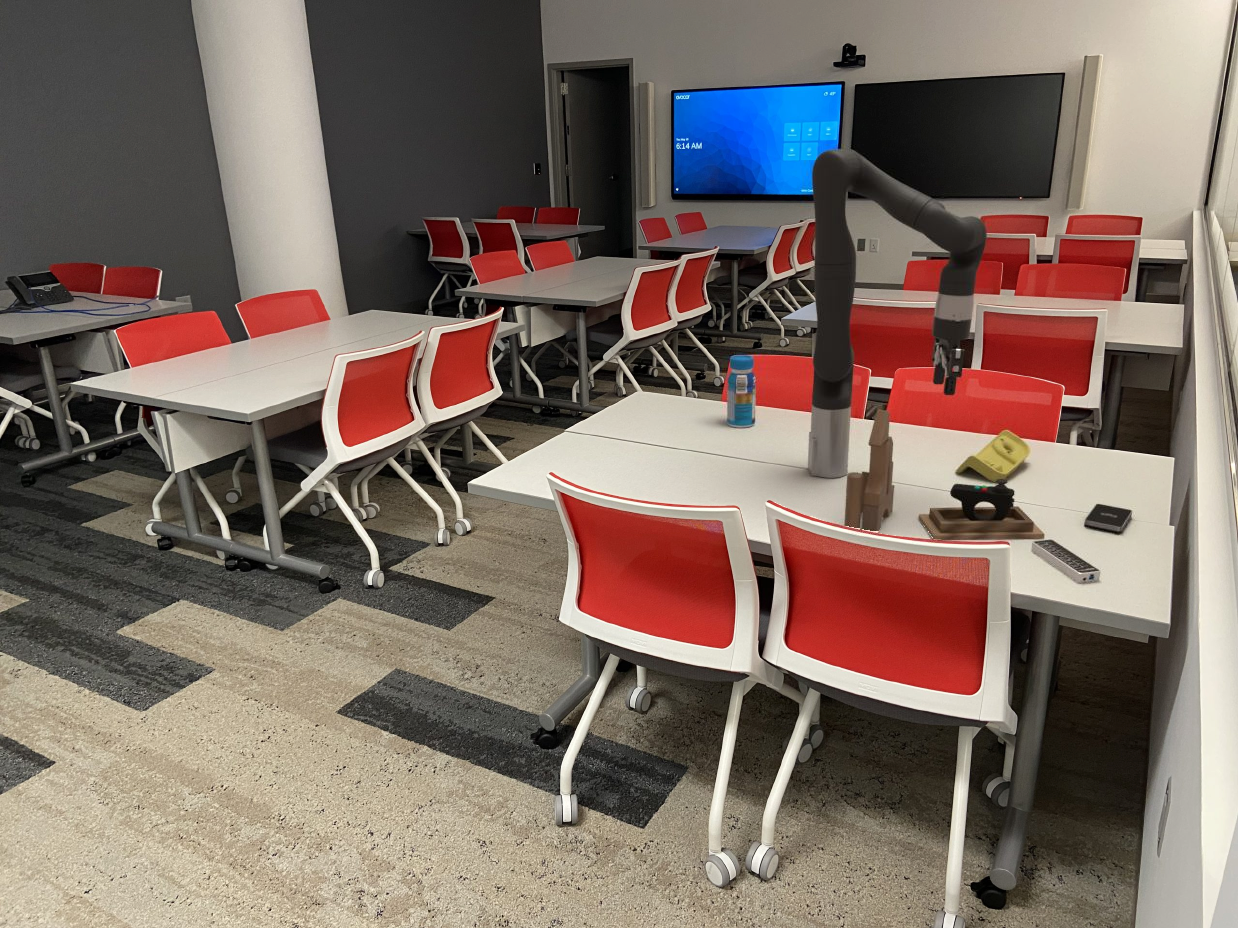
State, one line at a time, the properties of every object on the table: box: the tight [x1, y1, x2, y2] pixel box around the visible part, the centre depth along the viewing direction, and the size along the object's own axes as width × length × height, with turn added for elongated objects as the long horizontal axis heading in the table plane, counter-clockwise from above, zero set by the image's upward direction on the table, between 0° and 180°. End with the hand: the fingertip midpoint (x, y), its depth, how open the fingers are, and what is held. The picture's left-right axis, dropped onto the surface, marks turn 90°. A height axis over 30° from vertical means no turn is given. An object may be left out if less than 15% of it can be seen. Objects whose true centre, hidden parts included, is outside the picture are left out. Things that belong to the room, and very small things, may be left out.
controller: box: [949, 478, 1016, 521], centre depth 182 cm, size 4×12×10 cm, turn 67°
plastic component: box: [955, 429, 1031, 483], centre depth 216 cm, size 20×7×10 cm
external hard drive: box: [1083, 503, 1133, 535], centre depth 184 cm, size 7×11×2 cm, turn 141°
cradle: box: [918, 506, 1045, 541], centre depth 183 cm, size 22×11×3 cm, turn 87°
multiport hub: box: [1030, 539, 1102, 584], centre depth 167 cm, size 4×14×2 cm, turn 10°
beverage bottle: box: [726, 354, 757, 429], centre depth 254 cm, size 8×8×20 cm
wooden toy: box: [844, 409, 895, 532], centre depth 185 cm, size 16×7×25 cm, turn 150°
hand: (943, 389), depth 191 cm, fingers open, 8 cm apart
